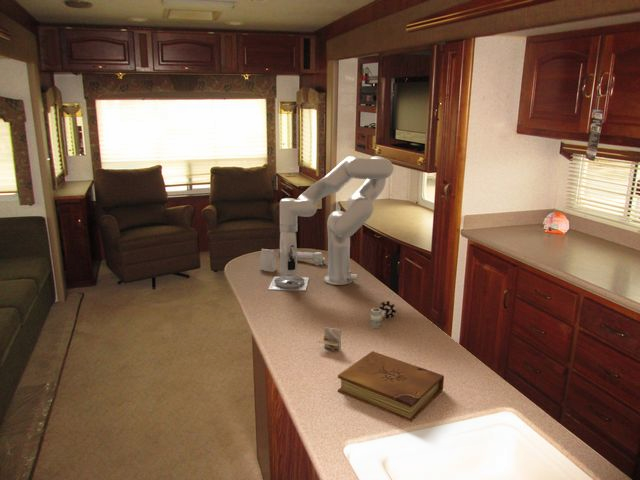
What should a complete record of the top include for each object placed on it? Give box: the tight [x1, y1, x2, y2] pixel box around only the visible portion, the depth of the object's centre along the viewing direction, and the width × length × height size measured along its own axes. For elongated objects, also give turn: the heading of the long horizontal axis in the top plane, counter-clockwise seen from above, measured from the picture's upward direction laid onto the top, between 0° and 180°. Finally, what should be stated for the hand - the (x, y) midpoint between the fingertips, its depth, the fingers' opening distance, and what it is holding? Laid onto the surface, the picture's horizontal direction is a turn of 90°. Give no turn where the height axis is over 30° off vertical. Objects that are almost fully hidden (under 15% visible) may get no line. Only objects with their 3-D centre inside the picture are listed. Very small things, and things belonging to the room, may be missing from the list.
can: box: [279, 248, 298, 276], centre depth 225 cm, size 8×8×12 cm
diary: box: [337, 350, 445, 423], centre depth 145 cm, size 23×19×6 cm
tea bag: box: [259, 248, 277, 273], centre depth 245 cm, size 4×7×10 cm, turn 66°
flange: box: [267, 275, 310, 292], centre depth 228 cm, size 16×16×2 cm
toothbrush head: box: [278, 251, 326, 266], centre depth 259 cm, size 5×7×25 cm
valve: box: [369, 300, 397, 330], centre depth 188 cm, size 7×7×12 cm
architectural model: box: [317, 326, 342, 353], centre depth 168 cm, size 3×7×7 cm, turn 70°
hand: (288, 266), depth 226 cm, fingers closed on can, 7 cm apart
